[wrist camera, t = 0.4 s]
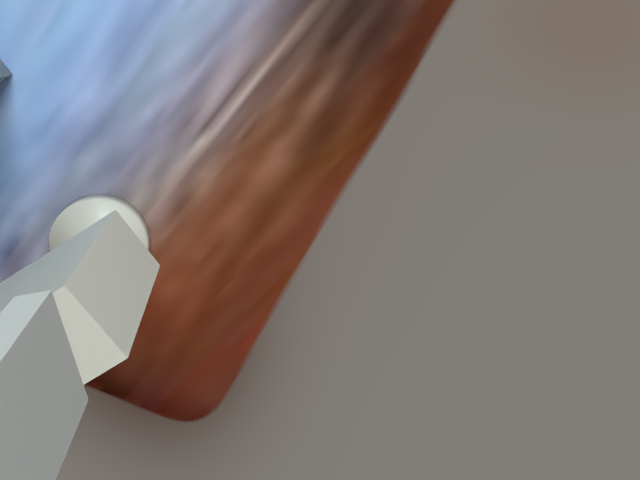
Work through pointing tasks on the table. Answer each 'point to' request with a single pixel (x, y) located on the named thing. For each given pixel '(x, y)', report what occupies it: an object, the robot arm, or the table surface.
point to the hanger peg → (94, 279)
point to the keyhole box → (4, 72)
